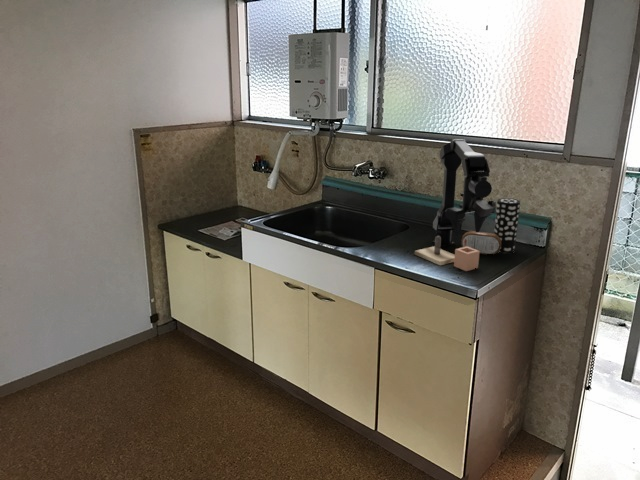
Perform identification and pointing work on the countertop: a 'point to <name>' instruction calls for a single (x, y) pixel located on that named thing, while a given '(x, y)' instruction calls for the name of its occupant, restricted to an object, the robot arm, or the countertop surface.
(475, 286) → the countertop surface
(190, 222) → the countertop surface
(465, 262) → the collar
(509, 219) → the spotted tube
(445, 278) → the countertop surface
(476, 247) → the tin
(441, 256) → the post stand
